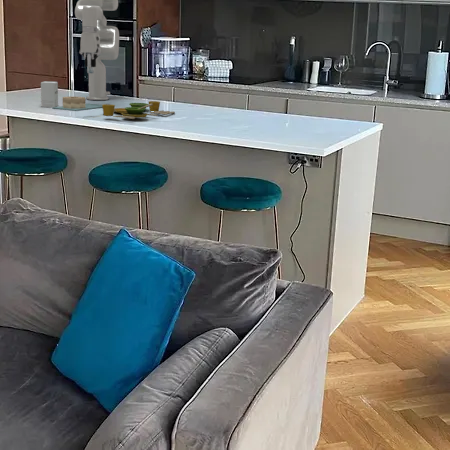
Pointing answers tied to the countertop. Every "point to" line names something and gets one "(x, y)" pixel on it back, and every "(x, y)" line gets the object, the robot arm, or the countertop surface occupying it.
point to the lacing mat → (88, 106)
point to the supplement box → (49, 94)
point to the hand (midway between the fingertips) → (90, 66)
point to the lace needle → (89, 63)
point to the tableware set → (134, 110)
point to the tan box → (74, 102)
